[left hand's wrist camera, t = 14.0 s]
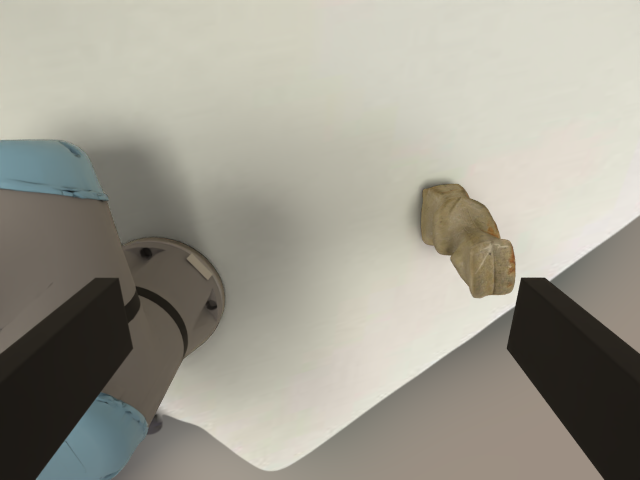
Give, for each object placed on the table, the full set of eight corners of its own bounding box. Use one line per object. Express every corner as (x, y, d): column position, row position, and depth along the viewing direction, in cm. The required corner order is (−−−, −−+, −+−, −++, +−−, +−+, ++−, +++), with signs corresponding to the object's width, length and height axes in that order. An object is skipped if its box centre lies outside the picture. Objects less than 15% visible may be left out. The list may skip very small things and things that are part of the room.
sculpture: (412, 241, 45) (453, 307, 31) (412, 181, 42) (458, 222, 28) (462, 237, 45) (527, 302, 31) (465, 176, 42) (537, 216, 28)
